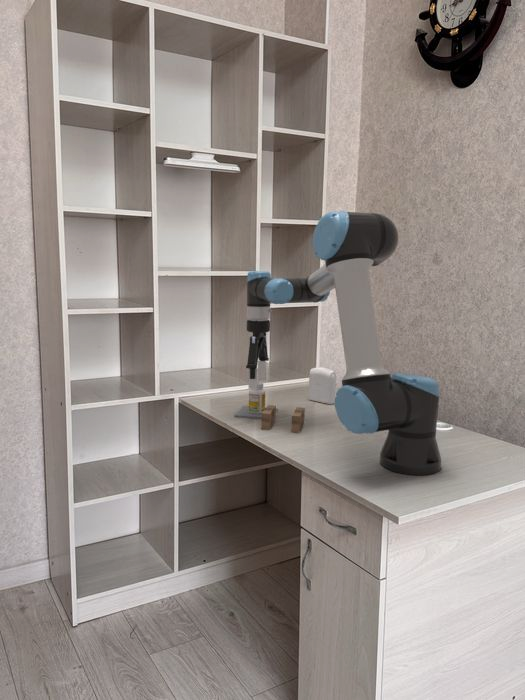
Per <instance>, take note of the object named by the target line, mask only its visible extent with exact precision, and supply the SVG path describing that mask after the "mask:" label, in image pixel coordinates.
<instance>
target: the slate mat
mask: <svg viewBox="0 0 525 700" xmlns="http://www.w3.org/2000/svg"><path fill="white" fill-rule="evenodd" d="M265 409H266V407H265ZM278 410H279V408H277V407H276V413H277V412H278ZM261 416H262V413H260V414H255V413H250V412H249V405H243V406H242V407H241V408H239V410H238V411H237V412H236V413H235V414H234V416H233V417H234V418H240V419H241V418H243V419H255V420H261Z"/></svg>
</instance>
